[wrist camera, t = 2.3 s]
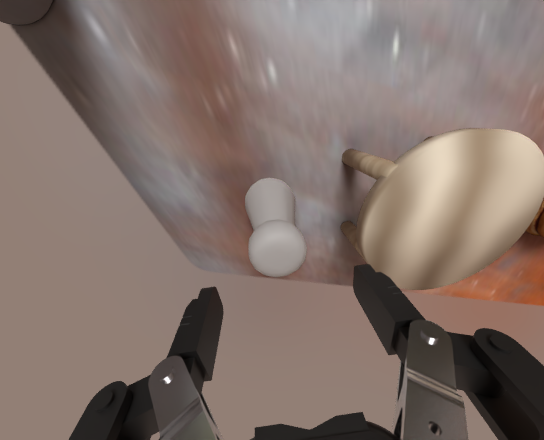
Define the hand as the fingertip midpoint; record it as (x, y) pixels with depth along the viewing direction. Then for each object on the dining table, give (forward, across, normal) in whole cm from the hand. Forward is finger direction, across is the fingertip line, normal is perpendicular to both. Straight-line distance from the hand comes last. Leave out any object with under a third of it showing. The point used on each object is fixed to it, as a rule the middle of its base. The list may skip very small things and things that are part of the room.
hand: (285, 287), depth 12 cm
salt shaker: (+16, 0, 0) cm, 16 cm away
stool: (+16, -15, +1) cm, 21 cm away
